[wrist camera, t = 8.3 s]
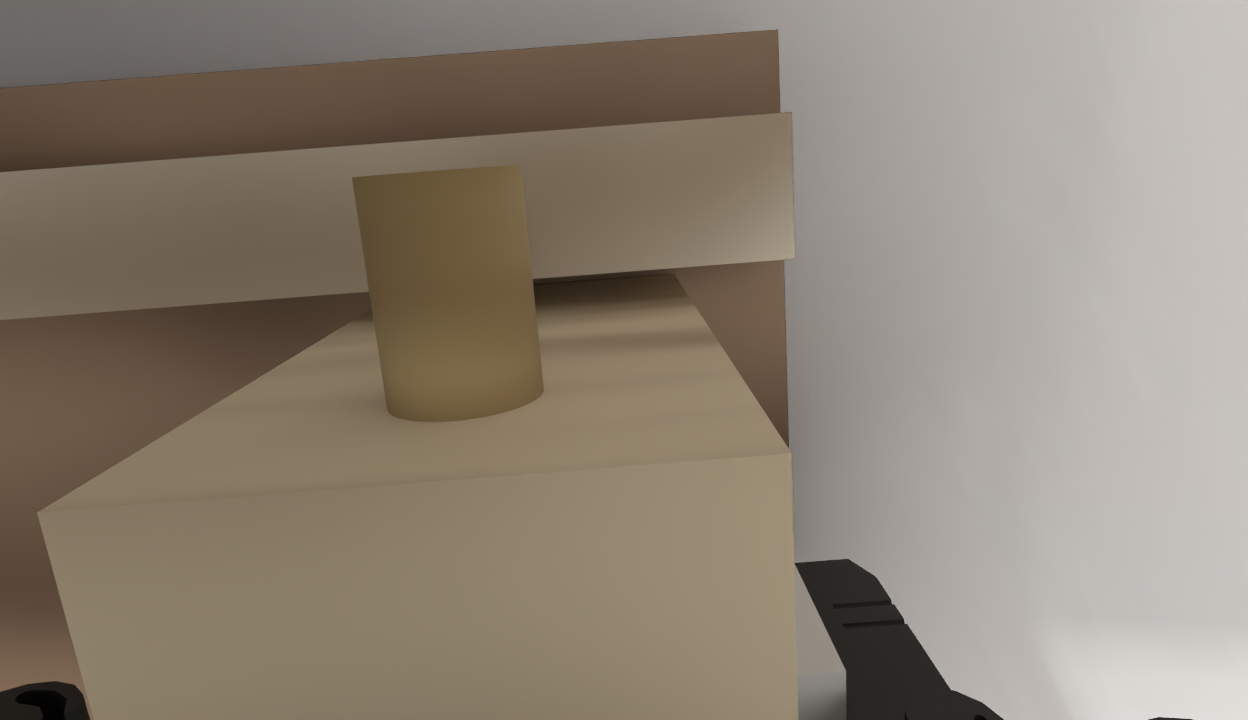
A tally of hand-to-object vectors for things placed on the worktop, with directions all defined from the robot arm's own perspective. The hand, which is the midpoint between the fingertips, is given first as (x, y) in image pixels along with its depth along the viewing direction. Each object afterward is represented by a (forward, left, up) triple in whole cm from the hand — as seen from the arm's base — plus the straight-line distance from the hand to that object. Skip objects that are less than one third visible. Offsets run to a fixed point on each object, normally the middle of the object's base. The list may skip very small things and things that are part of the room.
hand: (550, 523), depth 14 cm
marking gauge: (0, 0, -1) cm, 1 cm away
